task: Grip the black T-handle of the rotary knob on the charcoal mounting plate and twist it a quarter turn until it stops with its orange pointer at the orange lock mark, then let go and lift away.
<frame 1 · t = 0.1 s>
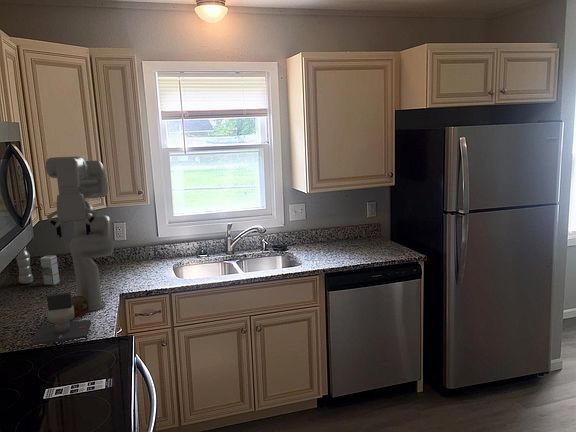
hand: (74, 235, 187), 37 cm above the worktop, tool pointing down, fingers open, 9 cm apart
plastic bottle: (26, 283, 257), on the worktop
mount: (63, 334, 186), on the worktop
tin: (70, 317, 205), on the worktop
rotary knob: (59, 307, 183), point 11 cm above the worktop, hinge at 0.0°
syrup box: (51, 284, 255), on the worktop
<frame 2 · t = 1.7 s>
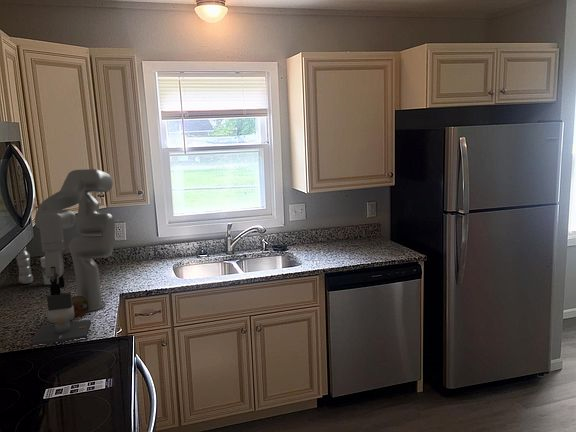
hand: (58, 291, 183), 17 cm above the worktop, tool pointing down, fingers open, 9 cm apart
nothing on the worktop moved.
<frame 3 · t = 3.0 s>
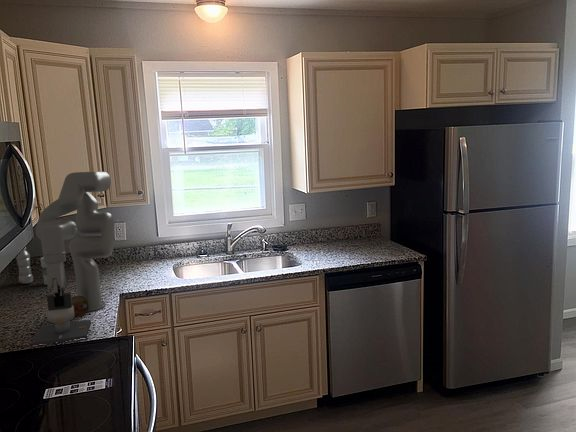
hand: (60, 304, 184), 12 cm above the worktop, tool pointing down, fingers closed on rotary knob, 2 cm apart
rotary knob: (59, 307, 183), point 11 cm above the worktop, hinge at 0.0°, touching gripper
everything else where it was.
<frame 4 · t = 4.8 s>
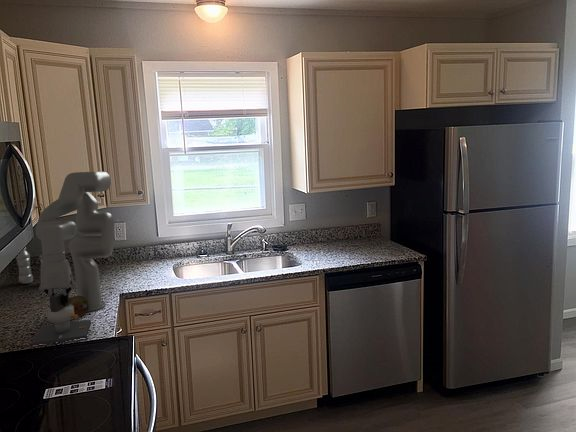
hand: (59, 304, 184), 12 cm above the worktop, tool pointing down, fingers closed on rotary knob, 3 cm apart
rotary knob: (62, 306, 184), point 11 cm above the worktop, hinge at 62.9°, touching gripper
everything else where it was.
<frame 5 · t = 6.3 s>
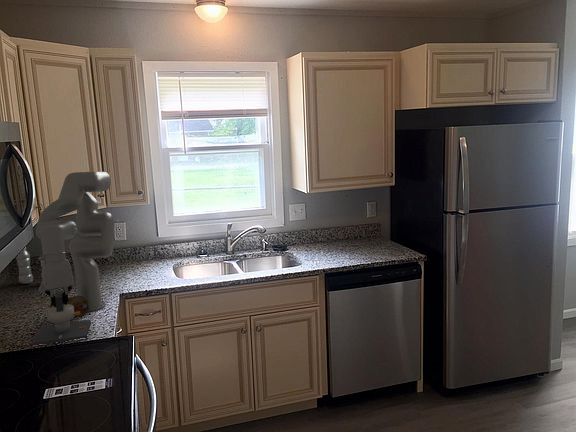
hand: (60, 304, 184), 12 cm above the worktop, tool pointing down, fingers closed on rotary knob, 3 cm apart
rotary knob: (63, 305, 185), point 11 cm above the worktop, hinge at 95.5°, touching gripper
everything else where it was.
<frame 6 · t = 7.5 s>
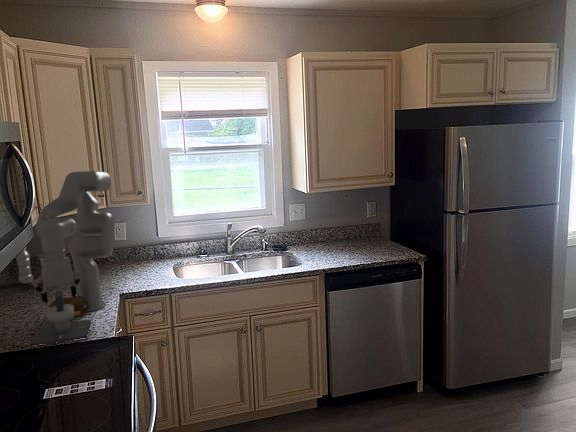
hand: (60, 299, 184), 14 cm above the worktop, tool pointing down, fingers open, 9 cm apart
rotary knob: (63, 305, 185), point 11 cm above the worktop, hinge at 96.0°
everything else where it was.
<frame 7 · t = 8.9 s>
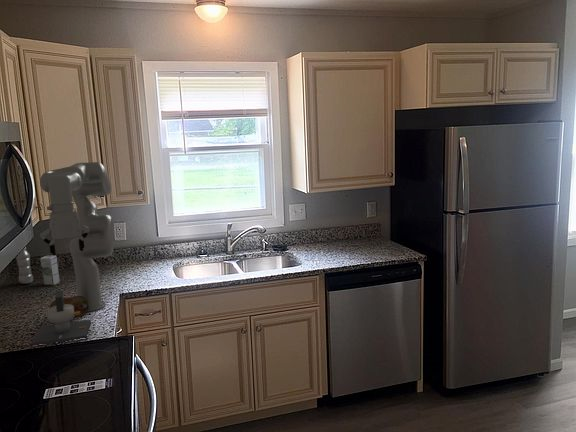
hand: (67, 252, 185), 31 cm above the worktop, tool pointing down, fingers open, 9 cm apart
nothing on the worktop moved.
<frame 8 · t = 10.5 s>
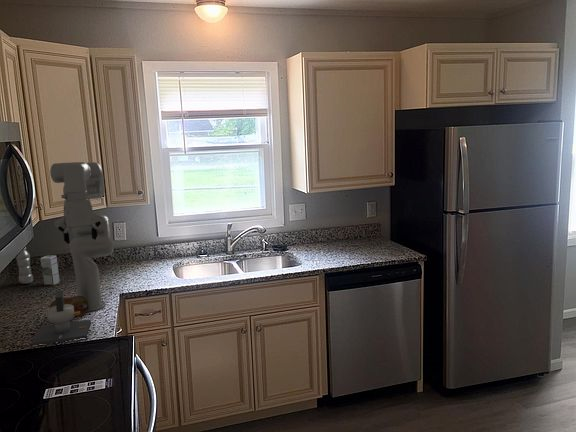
hand: (81, 241, 188), 34 cm above the worktop, tool pointing down, fingers open, 9 cm apart
nothing on the worktop moved.
at the end: rotary knob at +96° (first picture: +0°); the gripper is holding nothing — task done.
